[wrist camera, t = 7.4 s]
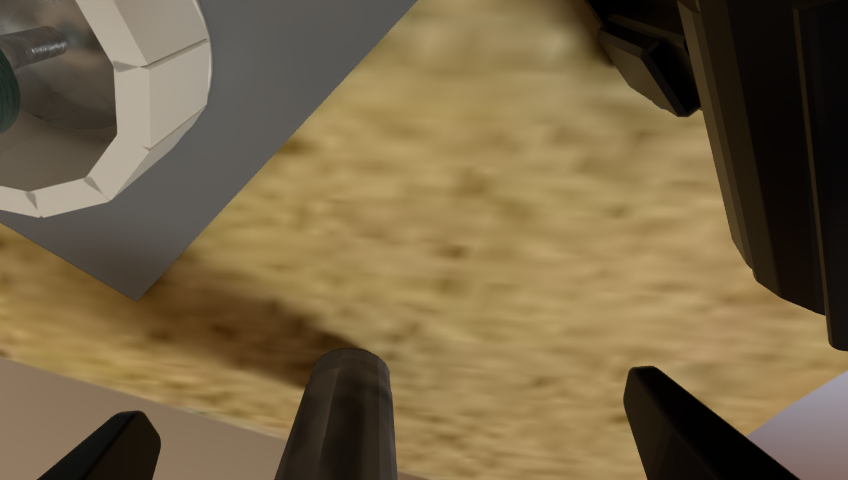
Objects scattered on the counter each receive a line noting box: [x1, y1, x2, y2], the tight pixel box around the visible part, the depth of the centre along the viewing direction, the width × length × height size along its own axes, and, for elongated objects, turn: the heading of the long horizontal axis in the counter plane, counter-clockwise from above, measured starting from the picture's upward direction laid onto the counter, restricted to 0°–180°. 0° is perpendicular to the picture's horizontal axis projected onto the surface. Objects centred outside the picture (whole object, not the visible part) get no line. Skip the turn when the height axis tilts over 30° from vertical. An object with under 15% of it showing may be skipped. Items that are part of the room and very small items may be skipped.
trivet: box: [0, 0, 417, 302], centre depth 17 cm, size 20×15×1 cm
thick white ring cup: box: [0, 0, 213, 218], centre depth 15 cm, size 11×9×5 cm
